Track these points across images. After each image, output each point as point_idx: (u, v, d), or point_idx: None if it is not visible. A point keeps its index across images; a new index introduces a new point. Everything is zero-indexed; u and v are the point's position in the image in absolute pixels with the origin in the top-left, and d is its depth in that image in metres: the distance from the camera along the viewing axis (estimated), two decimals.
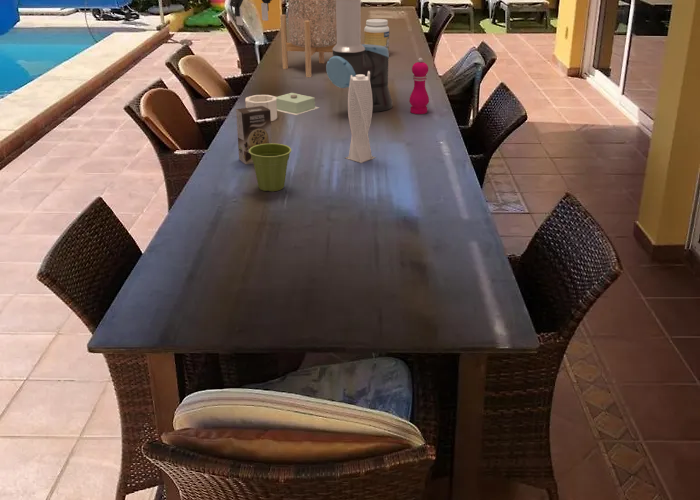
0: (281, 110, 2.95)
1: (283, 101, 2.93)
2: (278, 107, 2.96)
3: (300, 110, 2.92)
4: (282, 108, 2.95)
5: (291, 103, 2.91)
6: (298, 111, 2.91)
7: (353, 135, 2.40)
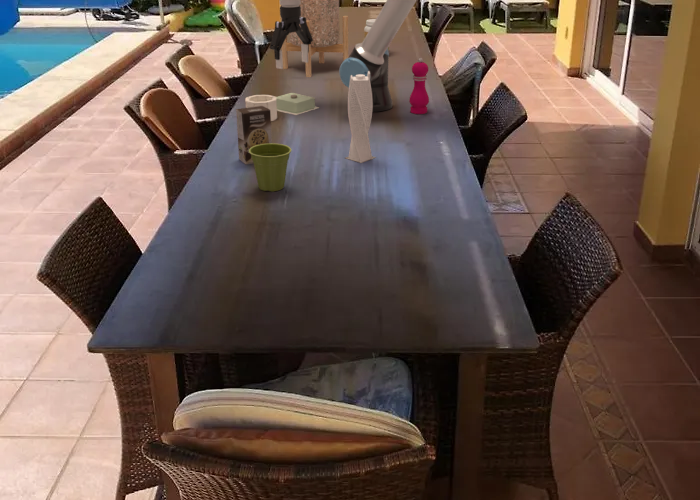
0: (281, 110, 2.95)
1: (283, 101, 2.93)
2: (278, 107, 2.96)
3: (300, 110, 2.92)
4: (282, 108, 2.95)
5: (291, 103, 2.91)
6: (298, 111, 2.91)
7: (353, 135, 2.40)
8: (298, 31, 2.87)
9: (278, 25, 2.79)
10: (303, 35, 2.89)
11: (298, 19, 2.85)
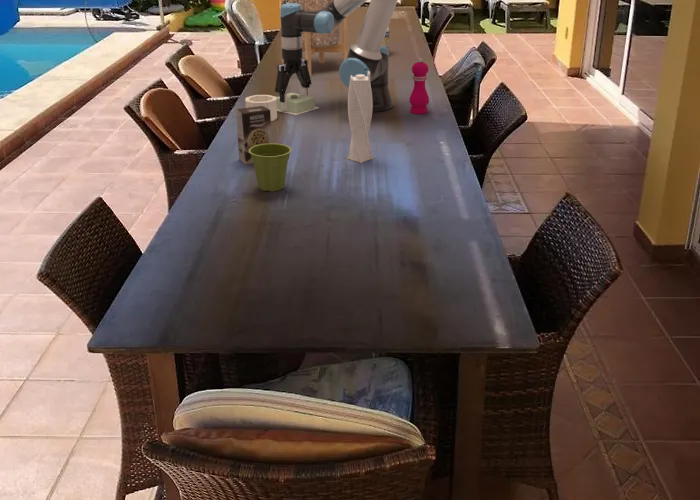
0: (281, 110, 2.95)
1: None
2: (278, 107, 2.96)
3: (300, 110, 2.92)
4: None
5: (291, 103, 2.91)
6: (298, 111, 2.91)
7: (353, 135, 2.40)
8: (299, 73, 2.93)
9: (280, 69, 2.86)
10: (303, 78, 2.95)
11: (300, 60, 2.92)
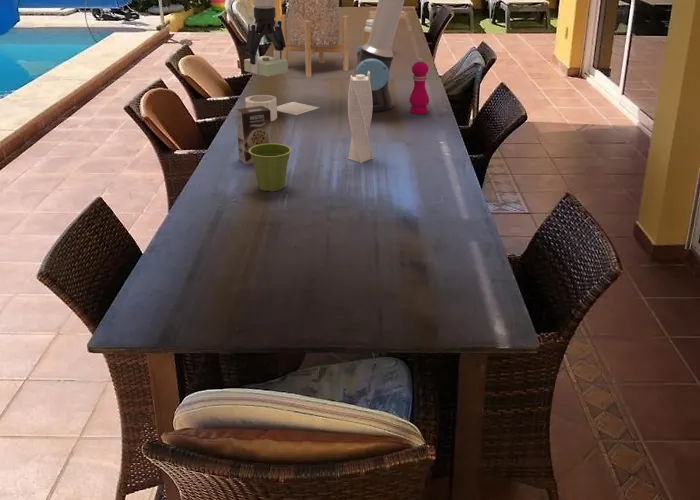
0: (281, 110, 2.95)
1: None
2: (249, 69, 2.81)
3: (271, 72, 2.77)
4: None
5: (262, 65, 2.76)
6: (269, 74, 2.76)
7: (353, 135, 2.40)
8: (271, 34, 2.78)
9: (251, 28, 2.71)
10: (276, 39, 2.80)
11: (273, 21, 2.76)
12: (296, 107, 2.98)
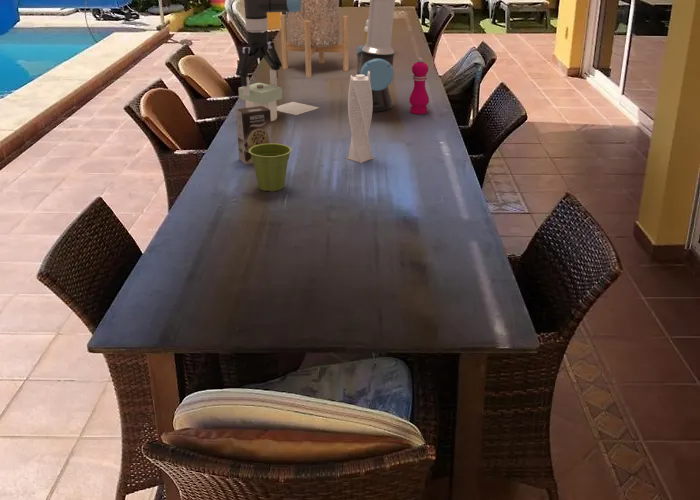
0: (281, 110, 2.95)
1: None
2: (243, 97, 2.81)
3: (267, 100, 2.77)
4: (248, 98, 2.80)
5: (257, 93, 2.76)
6: (264, 101, 2.76)
7: (353, 135, 2.40)
8: (266, 56, 2.78)
9: (244, 51, 2.70)
10: (271, 60, 2.80)
11: (266, 44, 2.76)
12: (296, 107, 2.98)
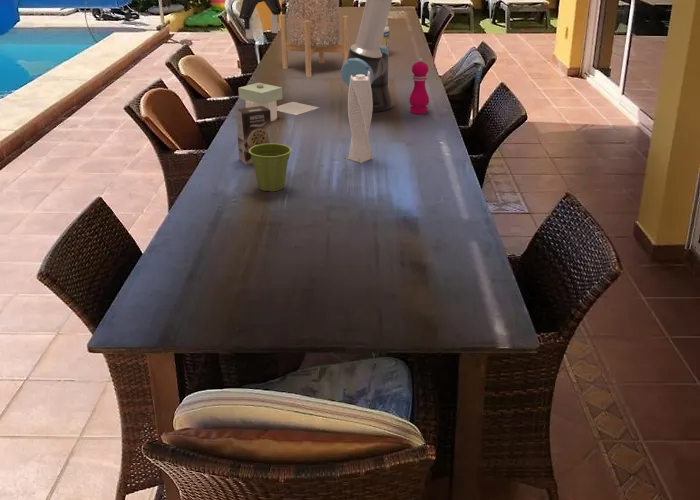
0: (281, 110, 2.95)
1: (248, 91, 2.78)
2: (243, 97, 2.81)
3: (267, 100, 2.77)
4: (248, 98, 2.80)
5: (257, 93, 2.76)
6: (264, 101, 2.76)
7: (353, 135, 2.40)
8: (267, 1, 2.85)
9: None
10: (272, 5, 2.87)
11: None
12: (296, 107, 2.98)
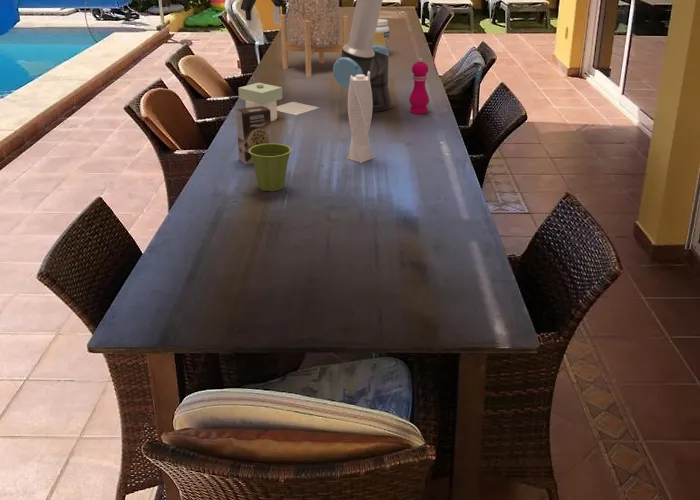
0: (281, 110, 2.95)
1: (248, 91, 2.78)
2: (243, 97, 2.81)
3: (267, 100, 2.77)
4: (248, 98, 2.80)
5: (257, 93, 2.76)
6: (264, 101, 2.76)
7: (353, 135, 2.40)
8: None
9: None
10: None
11: None
12: (296, 107, 2.98)
